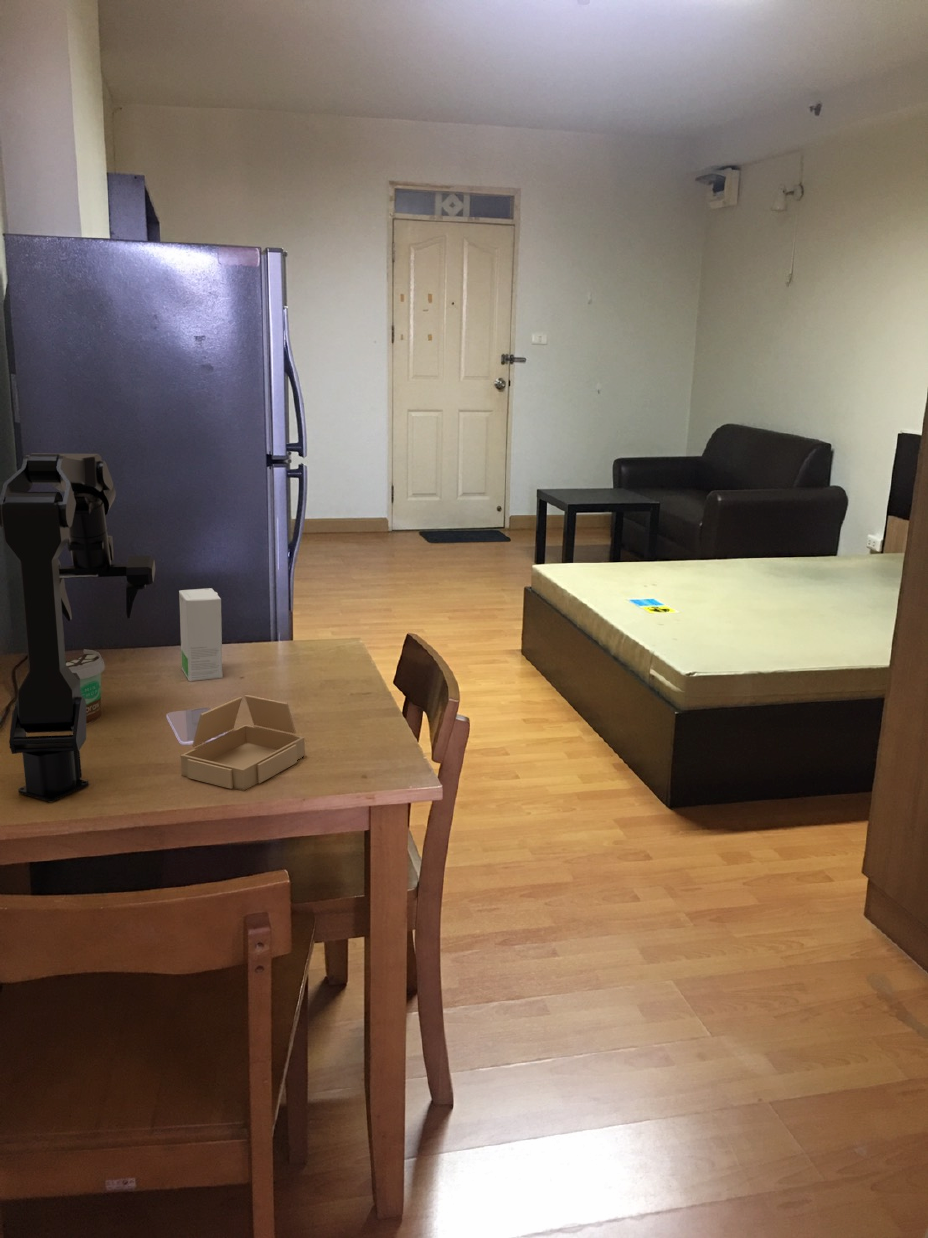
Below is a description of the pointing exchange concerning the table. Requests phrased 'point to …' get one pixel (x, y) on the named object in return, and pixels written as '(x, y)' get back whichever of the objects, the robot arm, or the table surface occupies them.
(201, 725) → the left flap
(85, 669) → the food container
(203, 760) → the carton
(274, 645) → the table surface
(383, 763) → the table surface
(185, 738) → the mobile phone
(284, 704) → the front flap
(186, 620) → the skincare box
